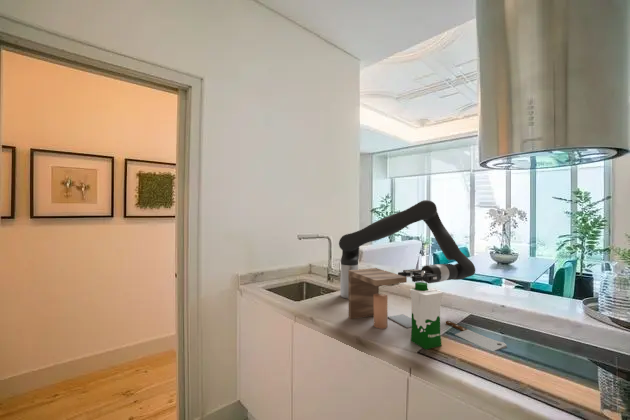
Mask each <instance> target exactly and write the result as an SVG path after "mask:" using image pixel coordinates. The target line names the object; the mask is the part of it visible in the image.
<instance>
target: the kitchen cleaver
mask: <svg viewBox="0 0 630 420" xmlns="http://www.w3.org/2000/svg"><path fill="white" fill-rule="evenodd" d="M445 325H447V326H450V327H452V328H454V329H456V330H459V332H457V333H455V334H453V335H454V336H456V337H459V338H461V339H463V340H466V341H468V342H470V343H472V344H475V345H476V346H480V347H482V348H484V349H487V350H489V351H492V352H496V351H499V350H501V349H505V348H507V344H506V343H505V342H503V341H501V340H500V341H498V340H496V339H493V338H490V337H488V336H485V335H482V334H480V333H478V332H474V331H472V329H471V330H470V329H468V328H466V327H464V326H462V325H459V324H457V323H455V322H453V321H450V320H446V321H445Z"/></svg>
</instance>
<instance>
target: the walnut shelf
mask: <svg viewBox="0 0 630 420" xmlns="http://www.w3.org/2000/svg"><path fill="white" fill-rule="evenodd" d="M407 278H408V277H405V276H401V275H398V273H394V272H390V271H387V270H384V269H381V268H378V267H373V268H372V267H371V268H361V269H359V268H358V270H348V318H349V319H350V320H354V319H360V318H365V317H366V318H367V317H374V301H373V295H374V294H380V292H379V291H380V287H379V286H387V285H395V284H397V285H398V284H404V283H407Z"/></svg>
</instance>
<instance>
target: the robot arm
mask: <svg viewBox="0 0 630 420" xmlns="http://www.w3.org/2000/svg"><path fill="white" fill-rule="evenodd" d="M437 208H438V207H437V205H436V203H435V201H432V200H430V199H424V200H421V201H419V202H417V203H415V204H414V205H412V206H410V207H408V208H406V209H405V210H402V211H399V212H396V213H393V214H390V215H388V216H385V217H383V218H380V219H378V220H377V221H374V222H373V223H371V224H369V225H367V226H365V227H364V228H362V229H360V230H357V231H354V232H352V233H351V232H350V233H347V234H344V235H342V236H341V237H340V238H339V241H338V245H339V246H338V247H339V248H340V249H341V250H342V254H341V257H340V278H339V281H340V285H339V286H340V290H339V291H340V292H339V293H340V297H341V298H343V299H348V270H359V259H360V247H362V246H363V245H366V244H368V243H372V242H374V241H379V240H381V239H384V238H387V237H389V236H392V235H394V234H396V233H398V232H400V231H401V230H403V229H405V228H407V227H408V226H409V225H412V224H414V223H417V222H420V221H421V222H422V221H423V222H424V223H425V224H426V226H427V227H428V229H429V230H430V231H431V233H432V235H433V237H434V239H435V241H436V242H437V245H438V246H439V248H440V250H441V252H442V253H443V255H444V257H445V258H446V260H448V261H455V262H457V263H455V264H452V263H442V264H439V263H438V264H437V263H436V264H435V263H434V264H428V265H424V266H422V268H421V269H415V268H413V269H412V268H411V269H403V270H402V271H400V272H398V273H397V274H398V275H401V276H405V277H407V278H410V279H411V282H412V283H416V282H424V283H427V284H434V283H435V284H437V283H442V282H445V281H454V280H455V281H459V280H463V279H466V278H469V277H471V276H474V275H475V274H476V267H475V265H474V263H473V262H472V260H471V259H469V258H468V257H467V255H465V253H464V252H462V251H461V249H460V247H459V246H458V244H457V243H456V241H455V240H454V238H453V236H451V234H450V232H449V231H448V230H447V228H446V227H445V226H444V224H443V222H442V220H441V218H440V216H439V213H438V209H437Z"/></svg>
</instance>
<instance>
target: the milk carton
mask: <svg viewBox="0 0 630 420" xmlns="http://www.w3.org/2000/svg"><path fill="white" fill-rule="evenodd" d="M408 291H409V295H410V300H411V301H410V302H411V318H412V327H411V330H410V331H411V332H410V334H411V335H410V342H411V343H414V344H415V345H417V346H419V347H420V348H422V349H424V350H430V349H434V348H438V347H442V337H441V336H442V335H441V303H442V298H443V294H444V293H443V292H442V291H438V290H437V289H434V288H429V287H428V283H426V282H421V281H418V282H414V288H409V290H408Z"/></svg>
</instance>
